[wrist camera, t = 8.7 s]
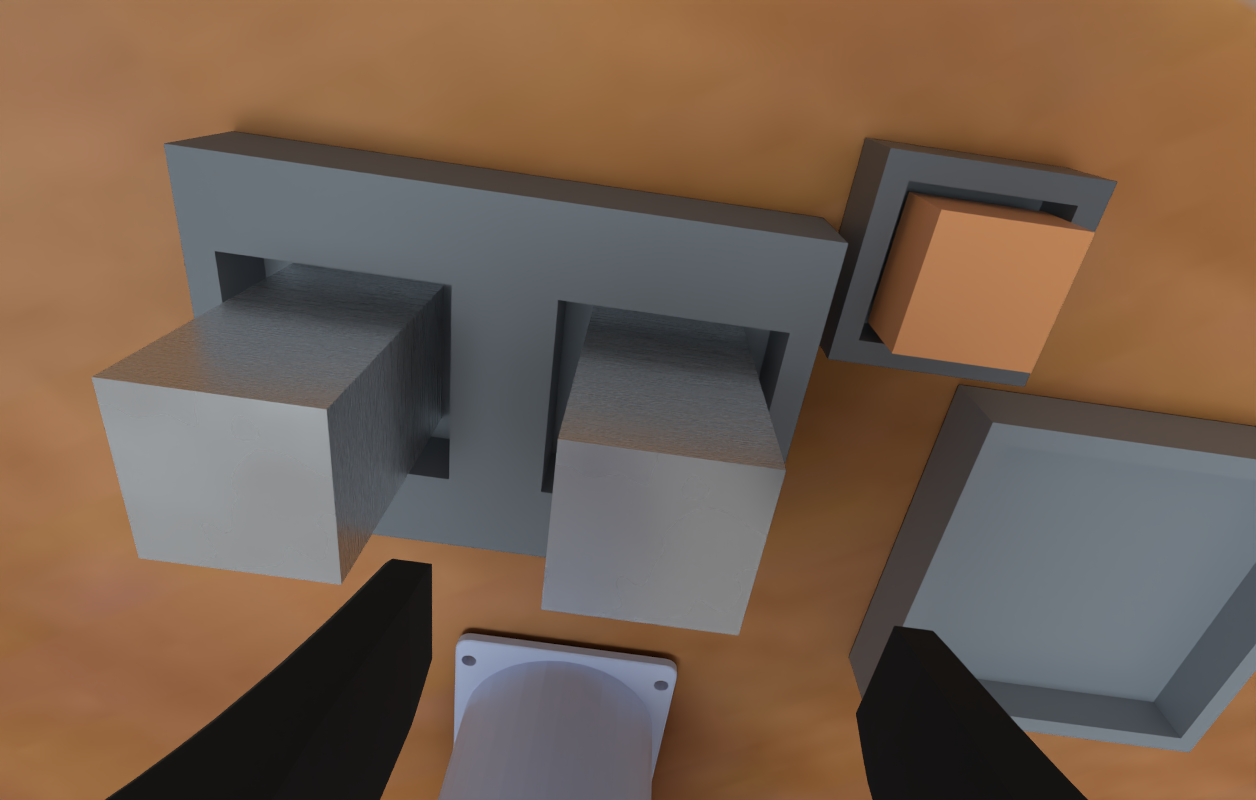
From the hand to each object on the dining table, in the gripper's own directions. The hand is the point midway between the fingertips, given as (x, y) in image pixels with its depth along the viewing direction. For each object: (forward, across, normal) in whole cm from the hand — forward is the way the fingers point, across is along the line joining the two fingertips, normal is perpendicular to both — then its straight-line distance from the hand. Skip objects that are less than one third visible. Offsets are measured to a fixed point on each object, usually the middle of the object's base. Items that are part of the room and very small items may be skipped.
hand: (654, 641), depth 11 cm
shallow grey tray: (+10, -14, +4) cm, 18 cm away
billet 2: (+9, 0, 0) cm, 9 cm away
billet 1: (+9, +8, 0) cm, 12 cm away
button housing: (+10, -6, -4) cm, 13 cm away
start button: (+8, -6, -4) cm, 12 cm away
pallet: (+10, +4, 0) cm, 11 cm away
